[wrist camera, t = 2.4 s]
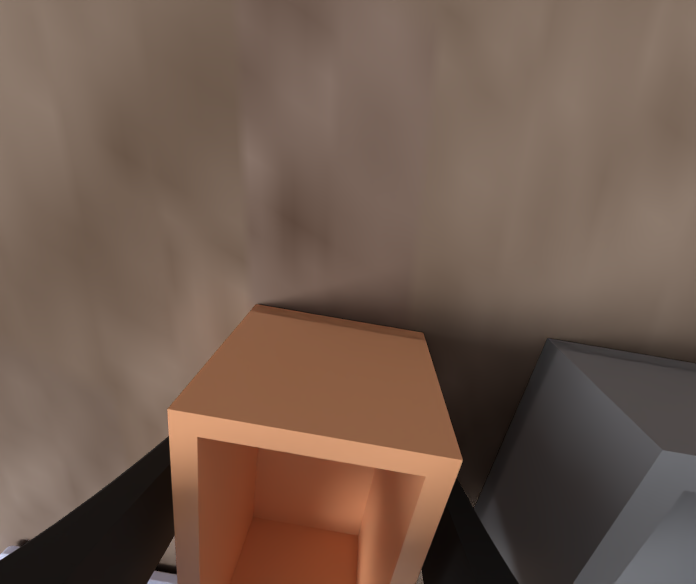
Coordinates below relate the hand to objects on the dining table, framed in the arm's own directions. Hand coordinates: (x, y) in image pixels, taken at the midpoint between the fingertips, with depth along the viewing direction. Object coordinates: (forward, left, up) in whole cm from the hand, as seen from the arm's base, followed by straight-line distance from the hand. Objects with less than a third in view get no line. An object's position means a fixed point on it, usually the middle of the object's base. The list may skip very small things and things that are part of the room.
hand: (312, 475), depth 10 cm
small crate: (0, 0, -2) cm, 2 cm away
